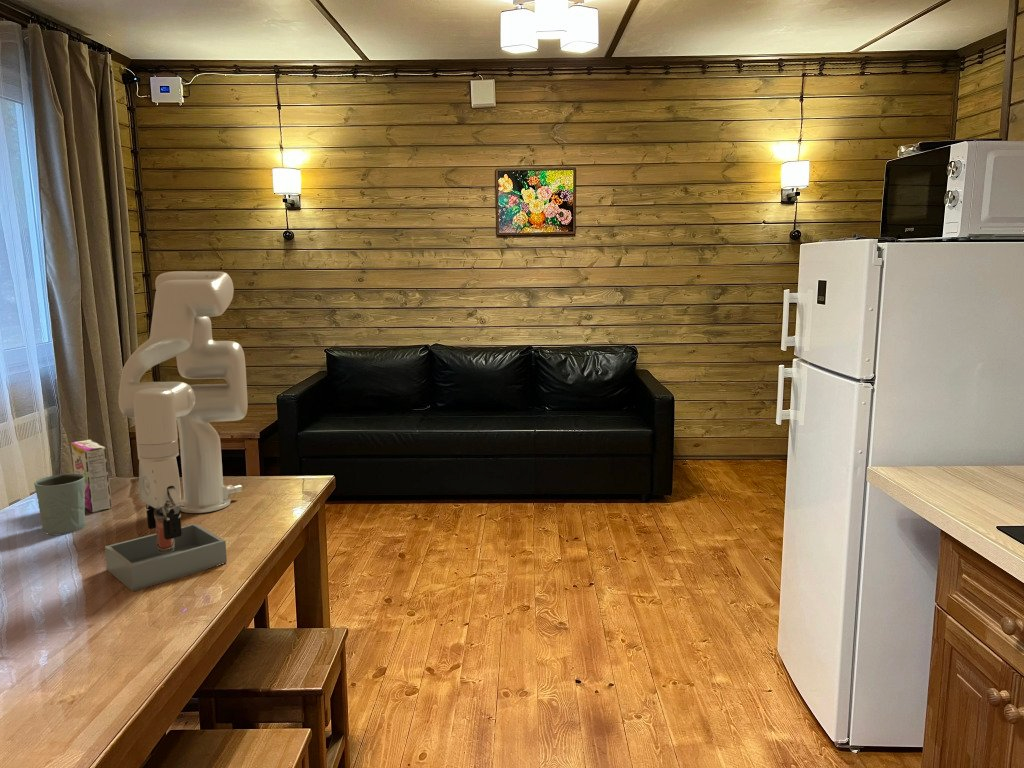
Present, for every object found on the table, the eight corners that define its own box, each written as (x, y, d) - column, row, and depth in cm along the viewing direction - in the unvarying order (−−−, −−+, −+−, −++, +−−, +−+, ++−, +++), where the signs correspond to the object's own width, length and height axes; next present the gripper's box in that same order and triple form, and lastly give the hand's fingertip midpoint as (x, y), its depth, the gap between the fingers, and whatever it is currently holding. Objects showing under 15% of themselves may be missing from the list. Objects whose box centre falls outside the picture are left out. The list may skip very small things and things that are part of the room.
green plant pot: (39, 539, 169) (33, 488, 167) (39, 525, 177) (34, 477, 175) (90, 530, 174) (85, 481, 172) (88, 517, 183) (83, 470, 181)
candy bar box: (75, 503, 193) (69, 442, 190) (96, 499, 197) (90, 438, 194) (91, 513, 185) (84, 450, 183) (112, 508, 189) (106, 446, 186)
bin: (196, 544, 166) (195, 523, 165) (226, 563, 156) (225, 540, 155) (106, 569, 152) (104, 546, 152) (133, 591, 142) (131, 567, 142)
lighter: (175, 551, 151) (172, 504, 149) (157, 554, 149) (153, 506, 147) (173, 538, 158) (169, 492, 156) (155, 540, 156) (152, 495, 154)
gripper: (122, 445, 153) (129, 526, 156) (155, 461, 141) (162, 548, 144) (160, 439, 159) (166, 517, 161) (195, 453, 147) (201, 538, 150)
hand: (164, 531), depth 153 cm, fingers closed on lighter, 7 cm apart
